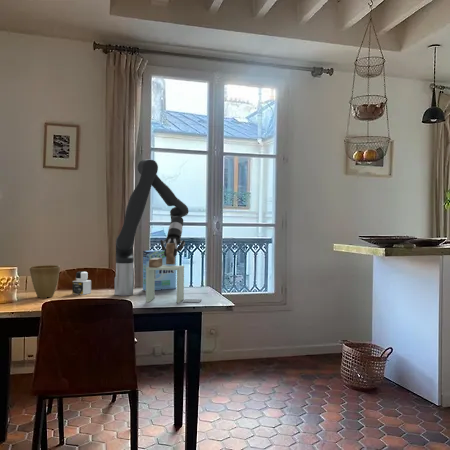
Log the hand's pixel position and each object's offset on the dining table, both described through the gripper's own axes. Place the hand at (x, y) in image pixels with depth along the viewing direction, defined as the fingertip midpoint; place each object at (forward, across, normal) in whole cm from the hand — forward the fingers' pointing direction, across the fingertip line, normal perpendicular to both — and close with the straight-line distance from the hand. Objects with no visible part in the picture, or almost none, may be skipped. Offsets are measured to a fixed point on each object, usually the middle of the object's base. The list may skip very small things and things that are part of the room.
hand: (169, 255), depth 241 cm
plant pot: (+22, -64, +9) cm, 68 cm away
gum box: (-3, -12, +35) cm, 37 cm away
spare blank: (+11, -5, -4) cm, 12 cm away
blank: (+2, 0, +5) cm, 5 cm away
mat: (+23, +14, +8) cm, 28 cm away
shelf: (+23, 0, +8) cm, 24 cm away
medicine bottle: (+12, -50, +19) cm, 55 cm away
